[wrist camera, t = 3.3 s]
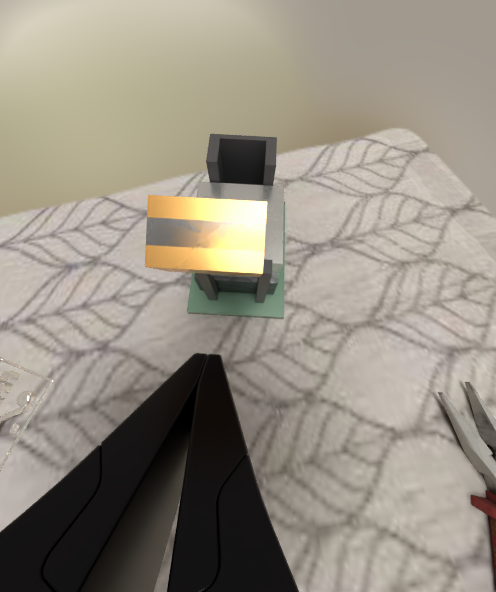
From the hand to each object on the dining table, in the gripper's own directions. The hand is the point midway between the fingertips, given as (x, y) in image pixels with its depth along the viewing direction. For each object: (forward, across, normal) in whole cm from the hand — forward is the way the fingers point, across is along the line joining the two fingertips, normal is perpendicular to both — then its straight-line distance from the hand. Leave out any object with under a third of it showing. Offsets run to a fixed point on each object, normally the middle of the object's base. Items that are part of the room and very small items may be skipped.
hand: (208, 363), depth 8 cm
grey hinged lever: (+9, 0, 0) cm, 9 cm away
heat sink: (+17, 0, +2) cm, 17 cm away
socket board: (+18, 0, +2) cm, 18 cm away
